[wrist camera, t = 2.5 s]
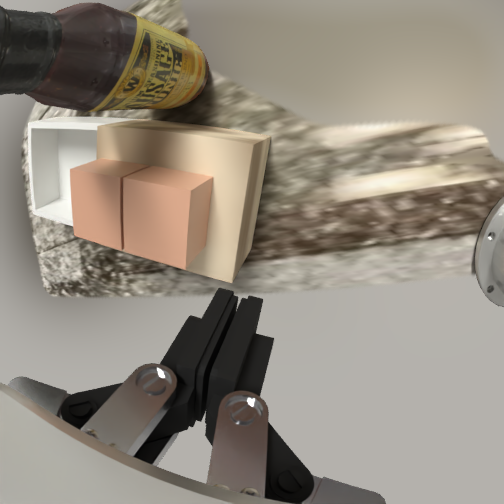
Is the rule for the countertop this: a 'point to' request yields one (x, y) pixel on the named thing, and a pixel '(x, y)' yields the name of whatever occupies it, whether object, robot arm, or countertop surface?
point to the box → (60, 160)
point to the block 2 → (166, 214)
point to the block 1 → (100, 200)
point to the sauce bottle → (97, 60)
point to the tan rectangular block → (207, 163)
